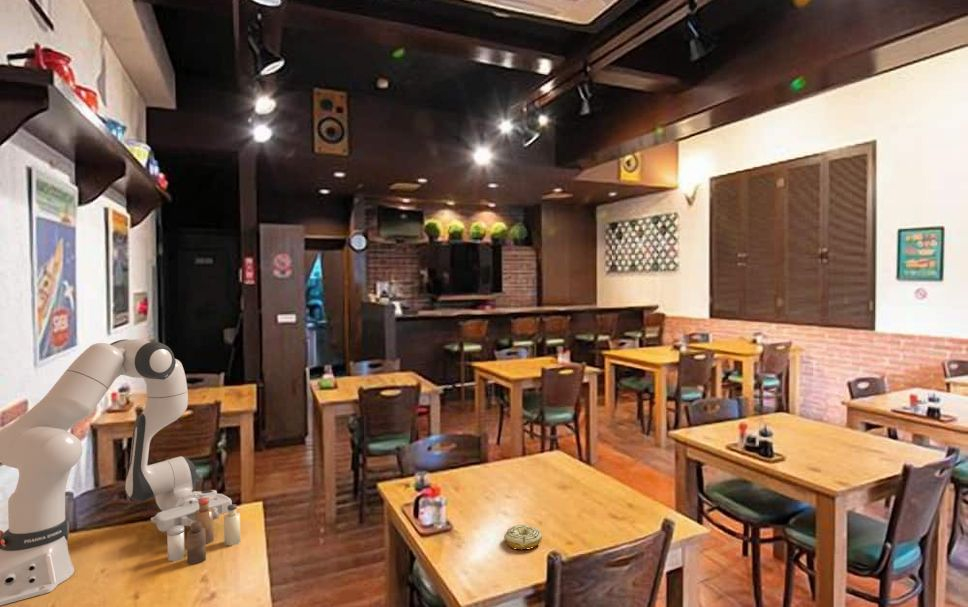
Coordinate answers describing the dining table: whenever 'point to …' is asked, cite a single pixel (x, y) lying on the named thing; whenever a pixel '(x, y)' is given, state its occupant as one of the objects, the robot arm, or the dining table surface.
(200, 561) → the pepper mill
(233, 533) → the vinegar bottle
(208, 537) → the soy bottle
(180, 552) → the salt shaker
